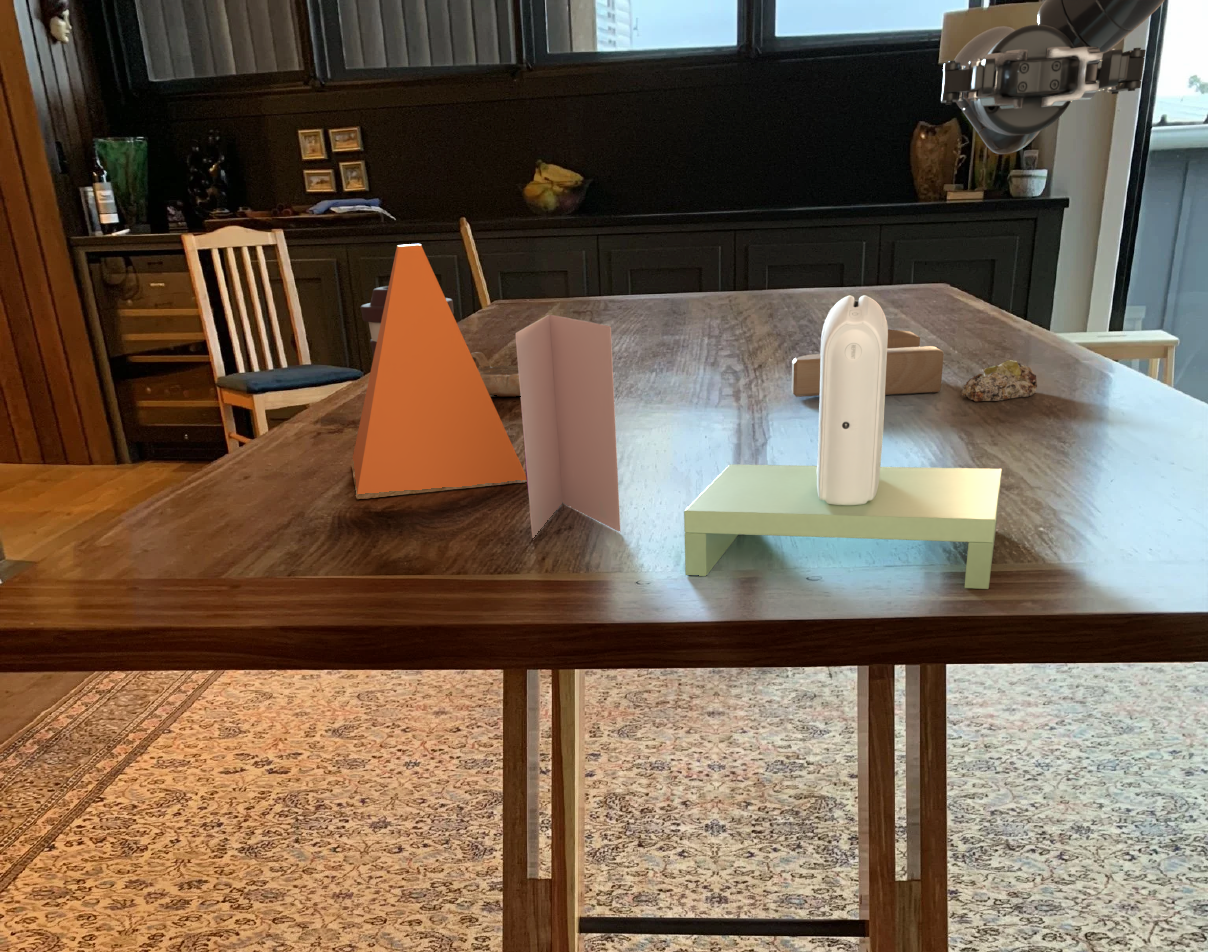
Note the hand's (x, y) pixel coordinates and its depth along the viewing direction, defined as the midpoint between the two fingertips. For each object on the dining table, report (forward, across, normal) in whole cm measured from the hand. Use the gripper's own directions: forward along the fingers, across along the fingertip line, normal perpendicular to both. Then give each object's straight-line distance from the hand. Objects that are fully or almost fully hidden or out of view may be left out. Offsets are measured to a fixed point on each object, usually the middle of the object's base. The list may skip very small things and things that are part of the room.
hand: (1051, 71), depth 85 cm
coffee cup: (-31, +60, -30) cm, 74 cm away
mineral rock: (-44, -4, -30) cm, 53 cm away
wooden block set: (-53, +12, -30) cm, 62 cm away
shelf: (+18, +13, -29) cm, 37 cm away
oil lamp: (-52, +56, -30) cm, 82 cm away
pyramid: (-8, +52, -30) cm, 60 cm away
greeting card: (+9, +34, -30) cm, 46 cm away
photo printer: (+18, +13, -25) cm, 34 cm away
